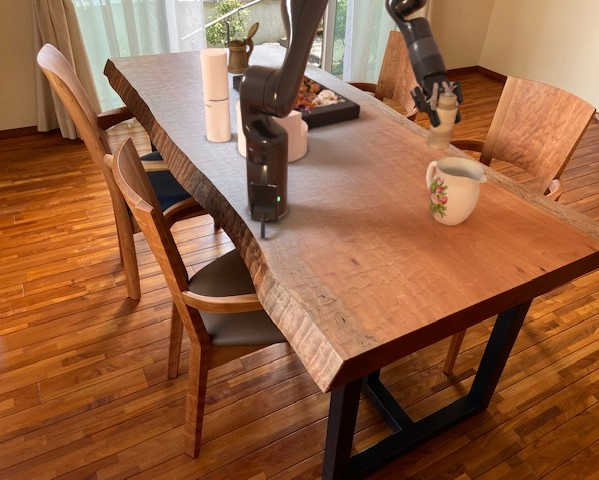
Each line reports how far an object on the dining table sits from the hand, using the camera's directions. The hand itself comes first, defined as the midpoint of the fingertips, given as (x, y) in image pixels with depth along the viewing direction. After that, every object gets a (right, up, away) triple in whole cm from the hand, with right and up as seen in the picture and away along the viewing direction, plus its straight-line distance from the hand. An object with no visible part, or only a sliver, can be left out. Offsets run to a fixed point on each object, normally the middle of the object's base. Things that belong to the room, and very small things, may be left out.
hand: (447, 124), depth 121 cm
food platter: (-39, +20, +54) cm, 69 cm away
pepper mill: (-1, -4, +5) cm, 7 cm away
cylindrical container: (-60, +2, +28) cm, 67 cm away
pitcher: (-2, -23, -3) cm, 23 cm away
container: (-44, -2, +23) cm, 50 cm away
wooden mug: (-59, +41, +82) cm, 109 cm away
